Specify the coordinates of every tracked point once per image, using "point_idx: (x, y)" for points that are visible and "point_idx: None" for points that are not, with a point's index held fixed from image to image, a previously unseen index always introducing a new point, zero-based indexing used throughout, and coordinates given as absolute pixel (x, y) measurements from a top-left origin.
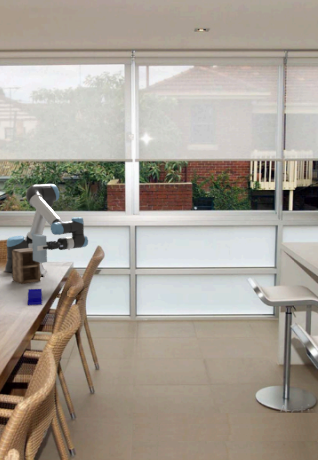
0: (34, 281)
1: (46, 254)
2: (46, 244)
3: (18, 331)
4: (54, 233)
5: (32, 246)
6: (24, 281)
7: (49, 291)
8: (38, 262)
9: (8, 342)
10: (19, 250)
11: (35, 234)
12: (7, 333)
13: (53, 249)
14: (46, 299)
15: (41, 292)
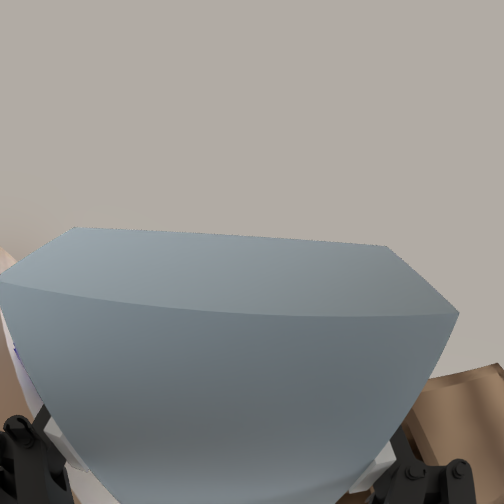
0: None
1: (112, 491)
2: (58, 425)
3: (3, 267)
4: None
5: None
6: (338, 502)
7: (83, 484)
8: None
9: (2, 252)
10: (475, 392)
11: (386, 267)
12: (13, 261)
13: (4, 483)
14: (25, 393)
15: (14, 345)
